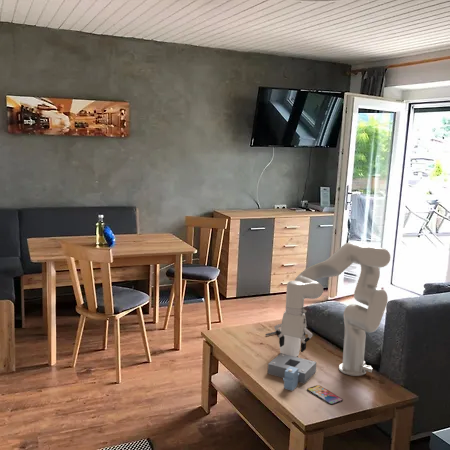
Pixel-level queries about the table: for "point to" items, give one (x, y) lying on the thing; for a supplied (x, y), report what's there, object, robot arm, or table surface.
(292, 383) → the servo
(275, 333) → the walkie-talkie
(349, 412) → the table surface
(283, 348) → the bottle
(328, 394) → the smartphone
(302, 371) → the plate
